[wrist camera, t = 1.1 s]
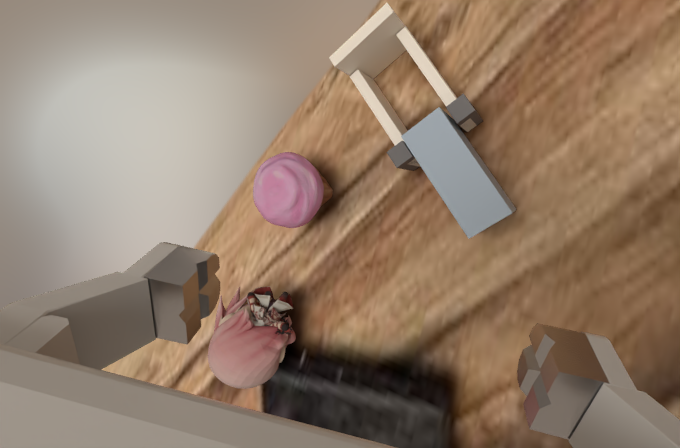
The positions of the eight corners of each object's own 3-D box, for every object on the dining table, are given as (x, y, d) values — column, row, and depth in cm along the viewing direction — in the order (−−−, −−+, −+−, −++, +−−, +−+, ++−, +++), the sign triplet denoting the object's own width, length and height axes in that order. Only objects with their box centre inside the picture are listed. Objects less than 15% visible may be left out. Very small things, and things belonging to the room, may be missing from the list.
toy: (249, 250, 58) (207, 333, 62) (215, 274, 48) (167, 371, 51) (321, 293, 58) (275, 373, 61) (304, 326, 47) (249, 420, 51)
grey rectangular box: (516, 209, 43) (512, 212, 36) (479, 231, 45) (468, 238, 38) (454, 119, 46) (439, 106, 39) (421, 144, 47) (400, 136, 40)
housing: (483, 120, 44) (472, 106, 37) (413, 170, 48) (390, 166, 41) (417, 27, 47) (393, -4, 39) (355, 82, 51) (323, 63, 43)
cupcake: (357, 192, 52) (319, 192, 43) (314, 236, 55) (270, 246, 46) (314, 143, 54) (270, 134, 45) (275, 189, 57) (227, 188, 48)
